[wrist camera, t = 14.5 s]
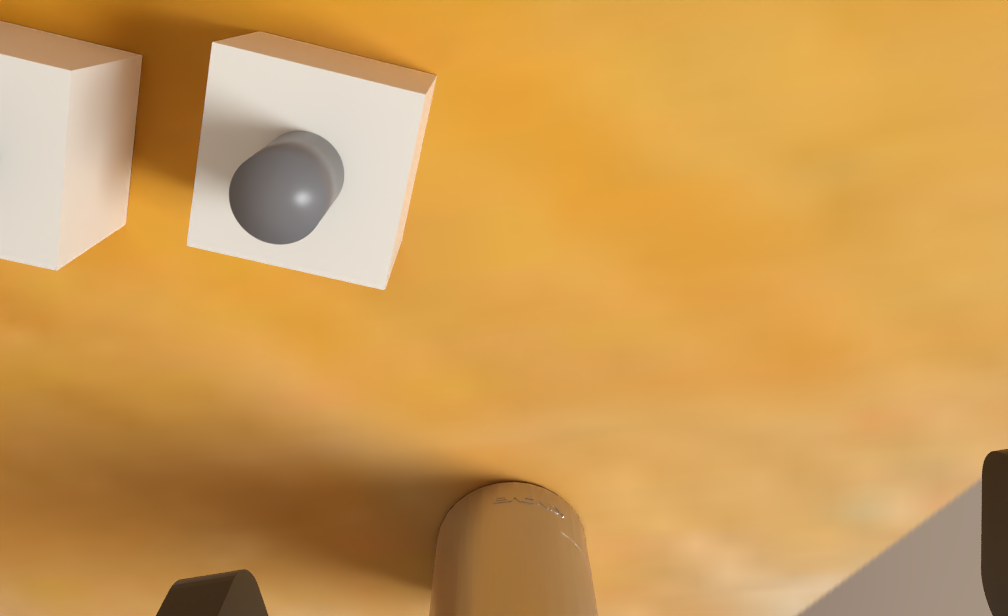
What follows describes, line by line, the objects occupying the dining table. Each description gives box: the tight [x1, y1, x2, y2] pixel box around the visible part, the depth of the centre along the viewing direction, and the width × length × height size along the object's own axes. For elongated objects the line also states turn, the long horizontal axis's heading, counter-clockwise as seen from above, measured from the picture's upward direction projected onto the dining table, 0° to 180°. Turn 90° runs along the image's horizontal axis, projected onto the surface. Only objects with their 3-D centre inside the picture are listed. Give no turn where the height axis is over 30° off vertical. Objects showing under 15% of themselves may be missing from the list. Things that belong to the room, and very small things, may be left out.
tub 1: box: [187, 31, 437, 290], centre depth 40 cm, size 9×9×13 cm
